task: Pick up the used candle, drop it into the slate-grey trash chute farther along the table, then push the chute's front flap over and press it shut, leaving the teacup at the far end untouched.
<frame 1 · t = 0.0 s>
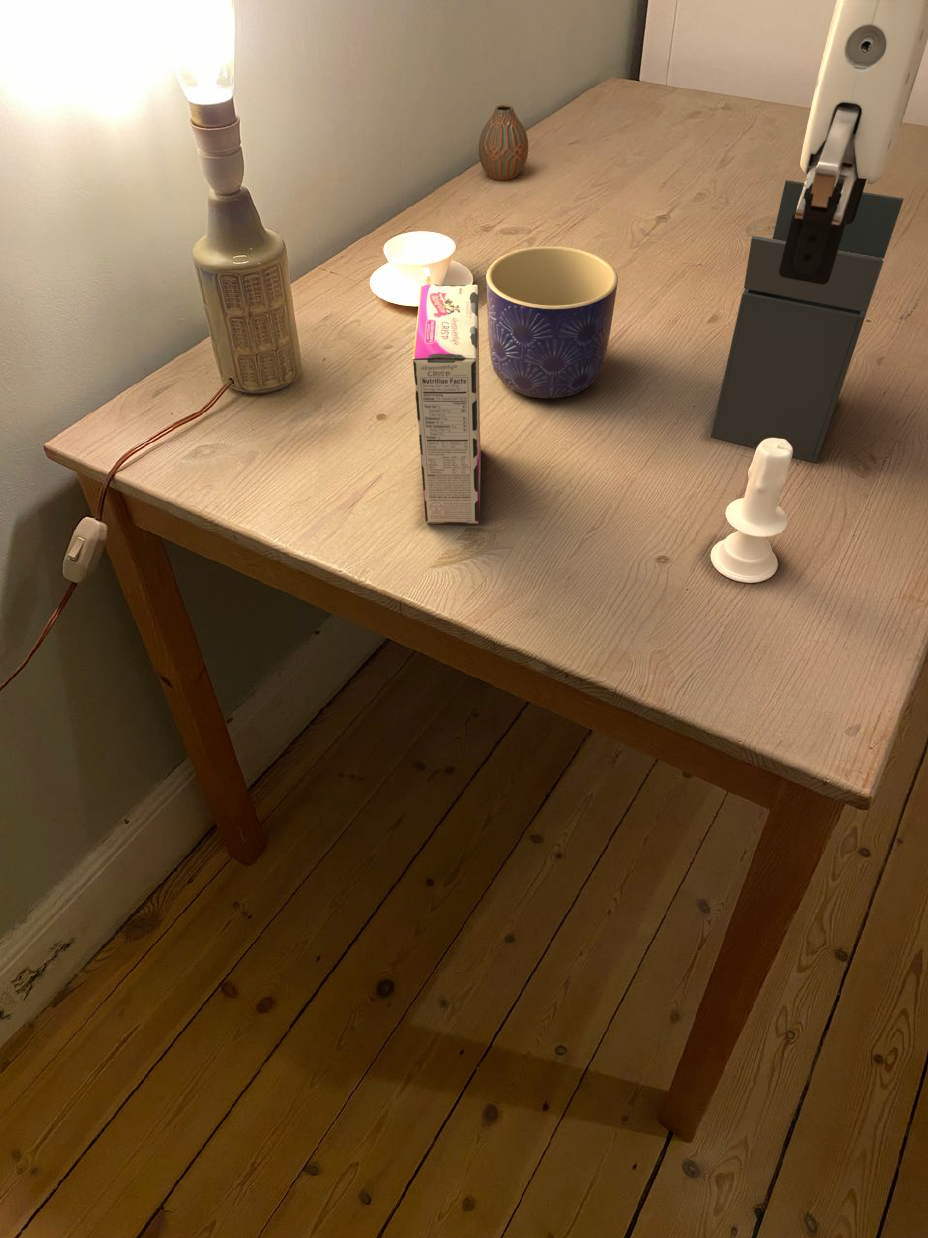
hand: (817, 247, 62), 23 cm above the table, tool pointing down, fingers open, 9 cm apart
candle: (742, 562, 75), on the table
vase: (503, 176, 130), on the table
chute: (775, 419, 88), on the table
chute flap: (809, 274, 71), point 17 cm above the table, hinge at 110.0°
planter: (545, 378, 94), on the table
candy bar box: (452, 487, 82), on the table
teacup: (422, 292, 107), on the table
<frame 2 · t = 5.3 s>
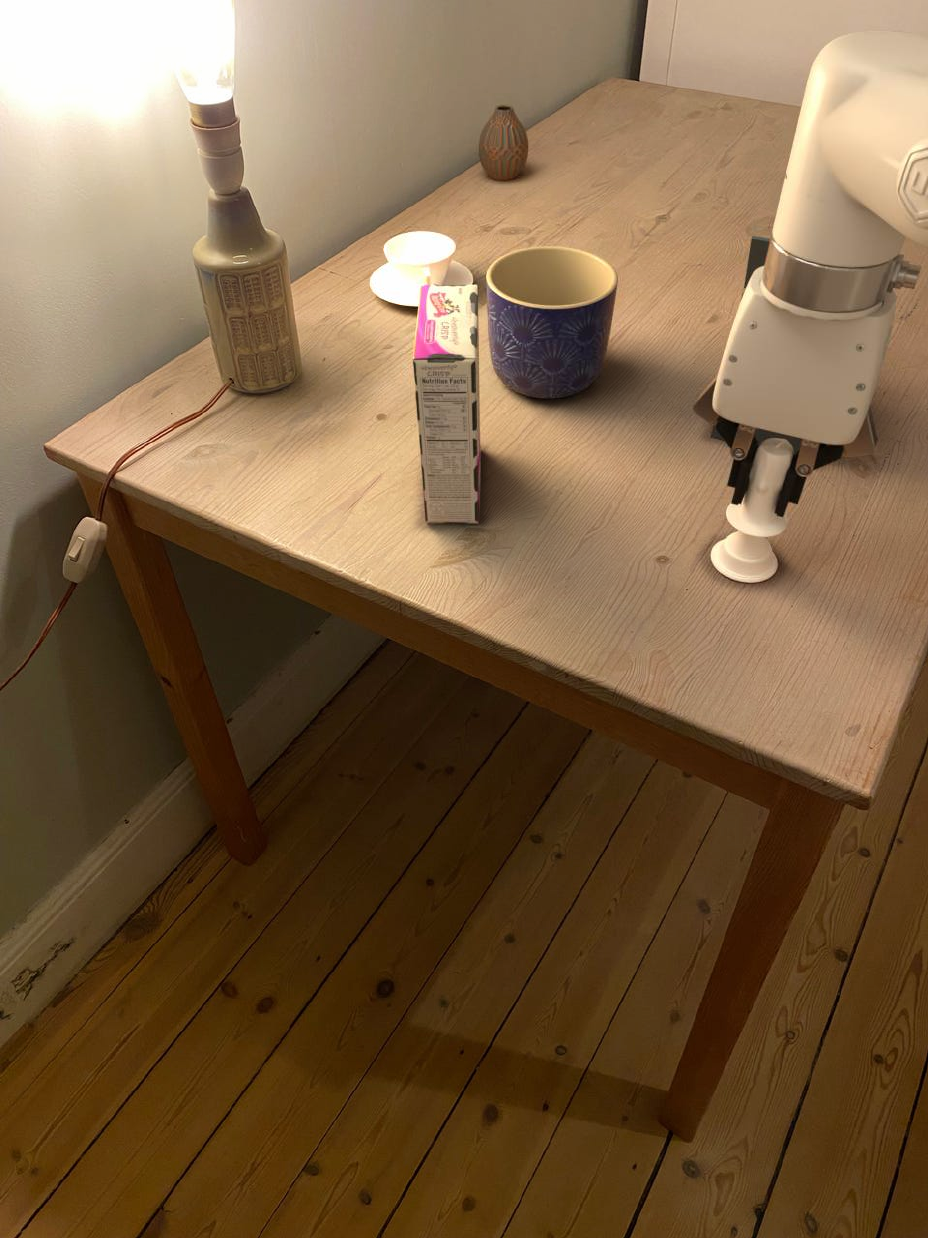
hand: (761, 498, 70), 7 cm above the table, tool pointing down, fingers closed on candle, 2 cm apart
candle: (743, 562, 75), on the table, touching gripper
everything else where it was.
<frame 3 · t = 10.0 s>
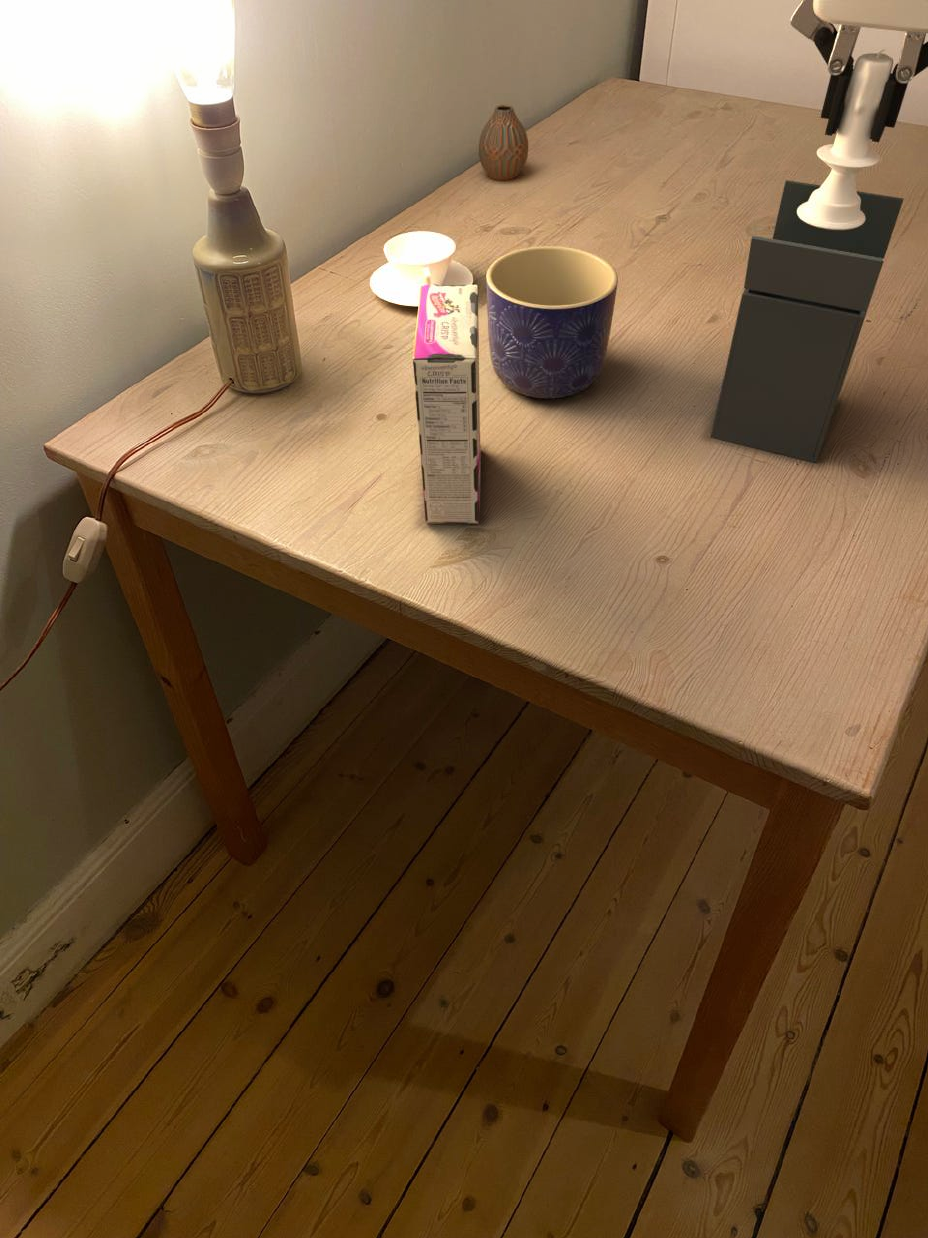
hand: (855, 130, 69), 26 cm above the table, tool pointing down, fingers closed on candle, 2 cm apart
candle: (829, 219, 74), point 19 cm above the table, touching gripper
everything else where it was.
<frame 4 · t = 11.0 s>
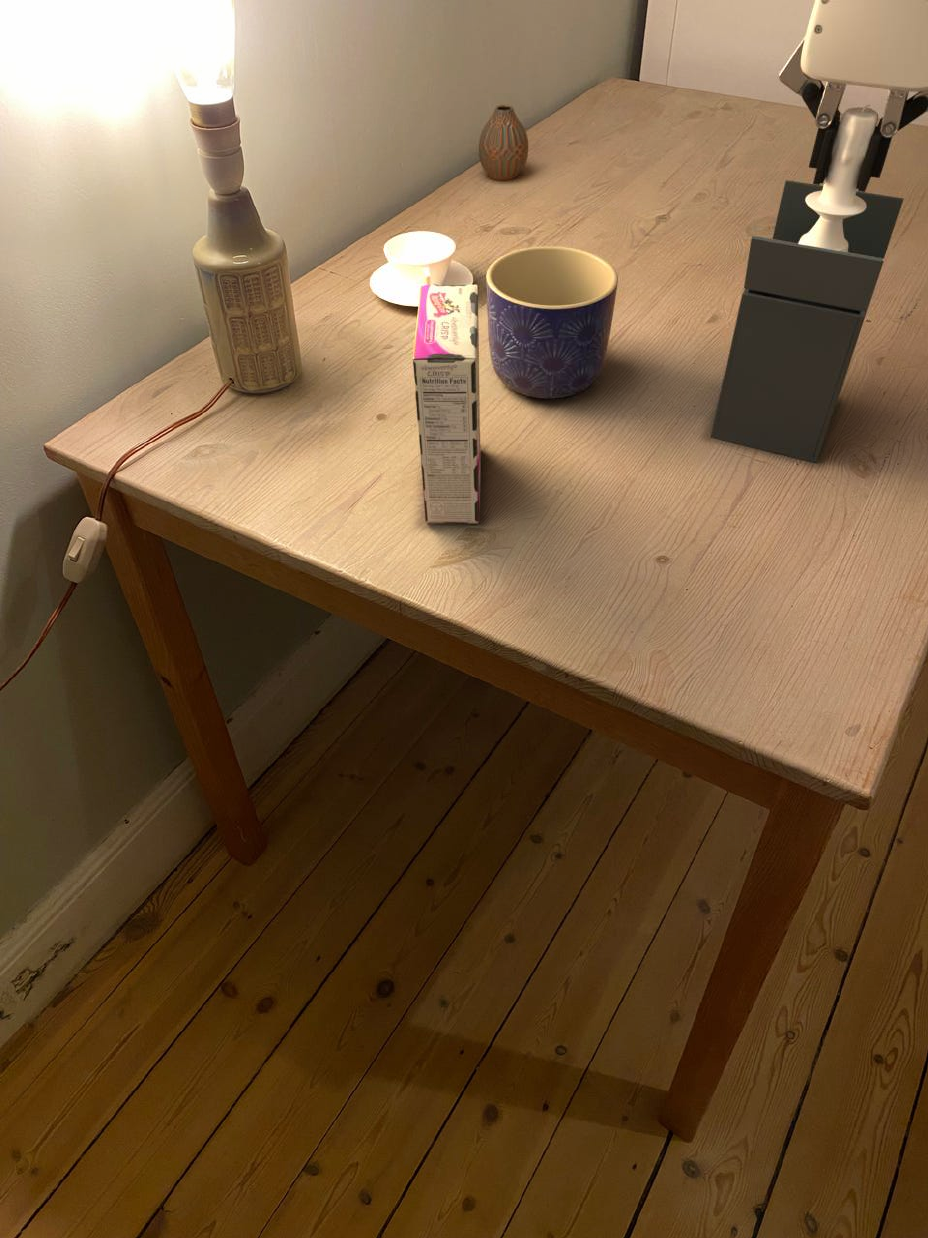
hand: (842, 179, 72), 22 cm above the table, tool pointing down, fingers closed on candle, 2 cm apart
candle: (818, 262, 77), point 16 cm above the table, touching gripper
everything else where it was.
when the fingers open (19 cm above the table, at t = 12.1 s): candle drops 12 cm, resting on chute.
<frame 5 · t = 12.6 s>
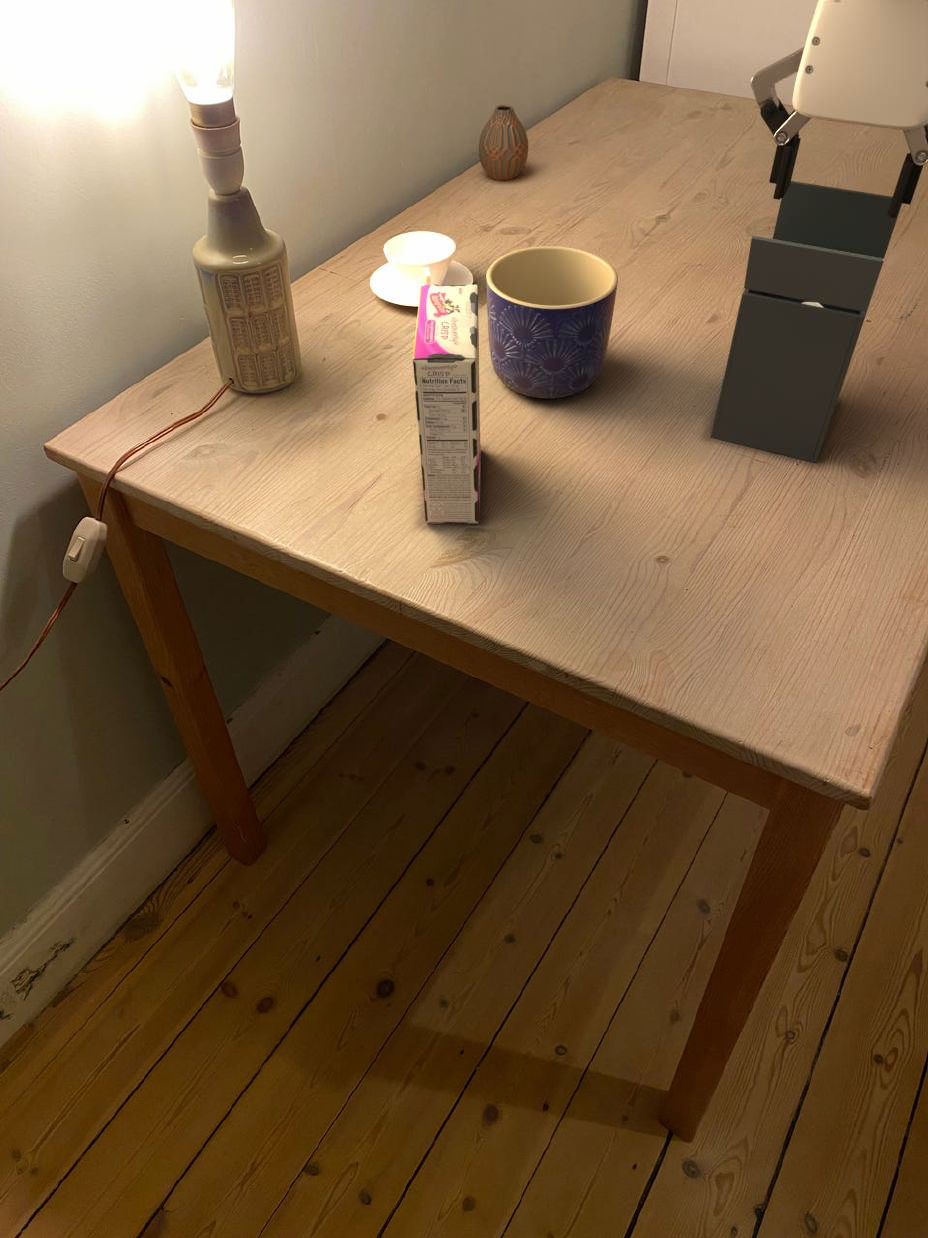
hand: (836, 201, 73), 21 cm above the table, tool pointing down, fingers open, 8 cm apart
candle: (777, 417, 88), resting on chute
everything else where it was.
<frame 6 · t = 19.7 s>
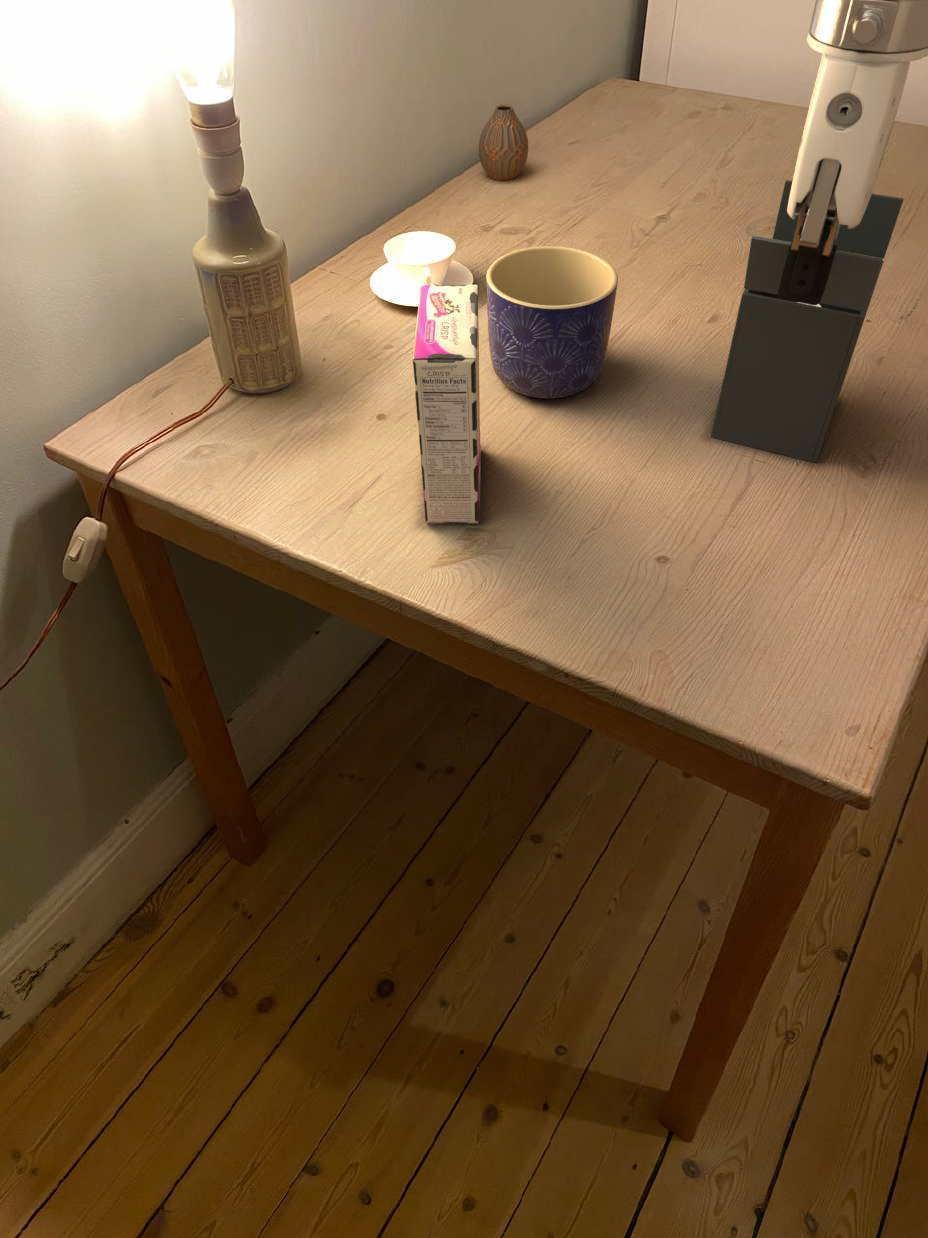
hand: (799, 296, 70), 17 cm above the table, tool pointing down, fingers closed
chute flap: (809, 274, 71), point 17 cm above the table, hinge at 110.0°, touching gripper
everything else where it was.
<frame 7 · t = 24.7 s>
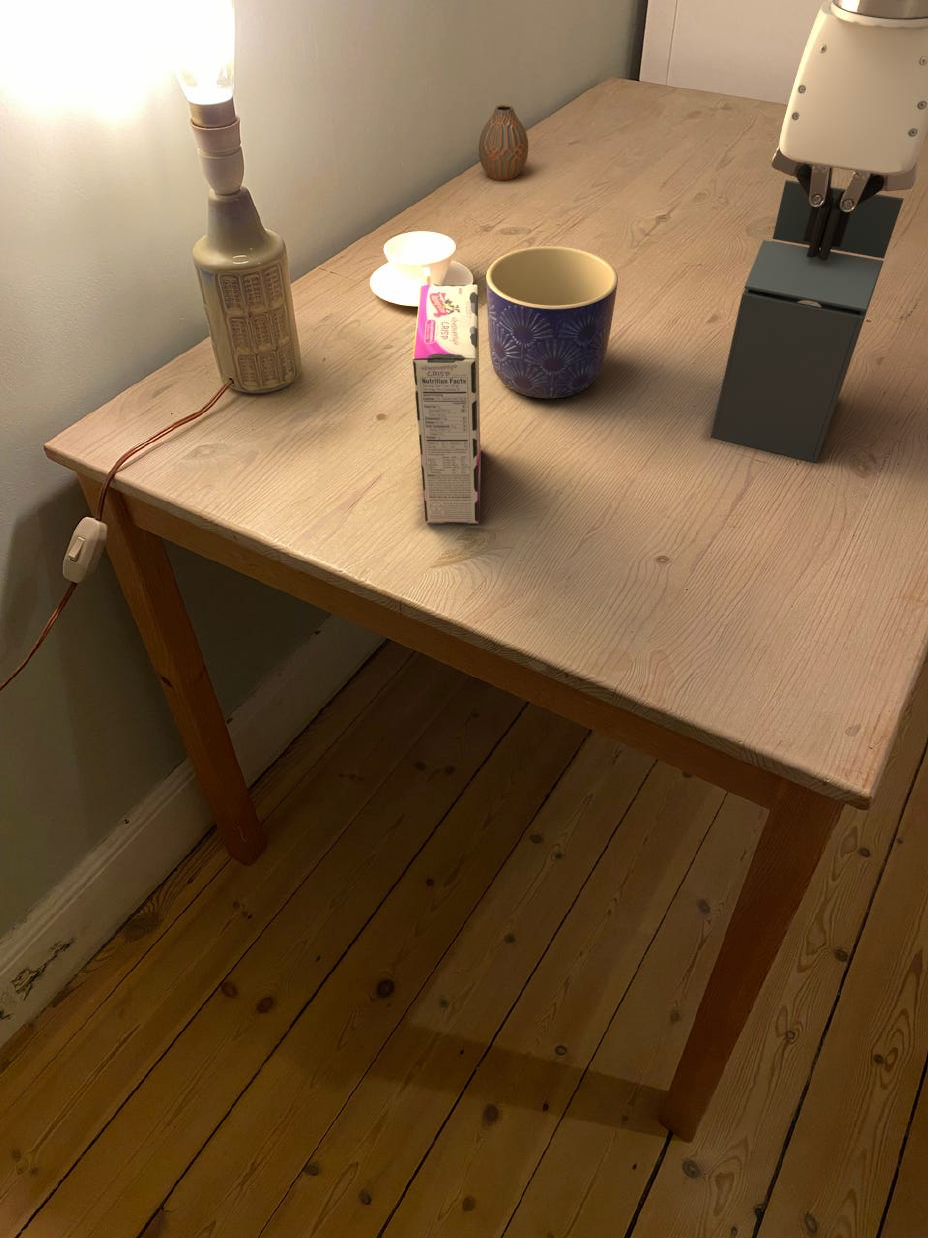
hand: (819, 251, 75), 17 cm above the table, tool pointing down, fingers closed
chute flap: (812, 274, 75), point 16 cm above the table, hinge at 20.0°, touching gripper
everything else where it was.
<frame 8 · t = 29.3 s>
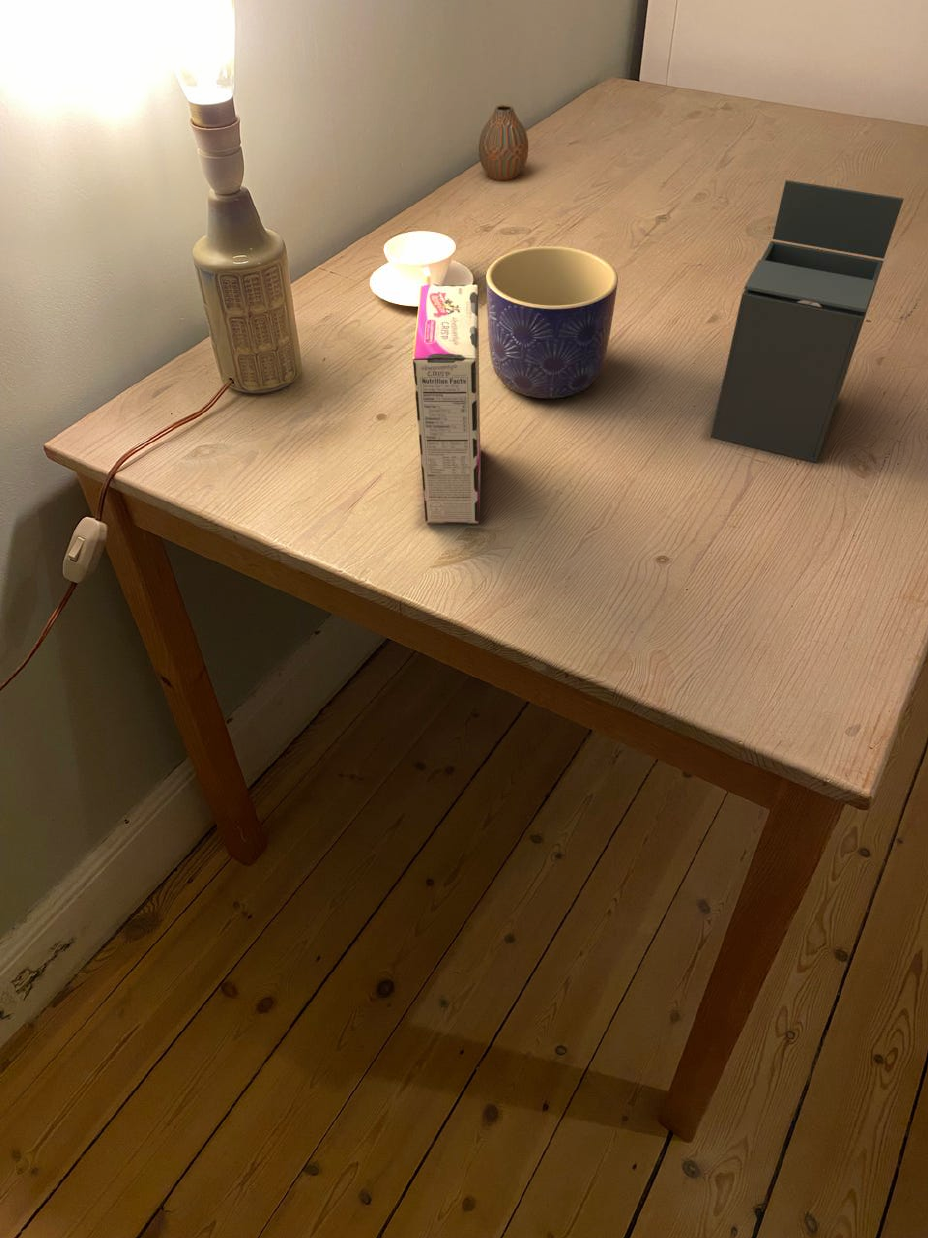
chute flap: (810, 284, 76), point 15 cm above the table, hinge at -0.4°
everything else where it was.
at the end: candle inside the target area in the chute (0.2 cm from its centre), point 0.2 cm above the chute's base; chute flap at +0° (first picture: +110°); teacup moved 0.2 cm from its start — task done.
